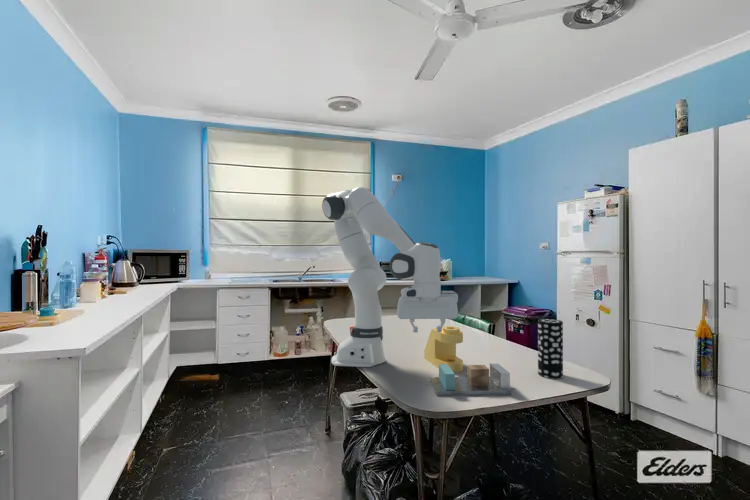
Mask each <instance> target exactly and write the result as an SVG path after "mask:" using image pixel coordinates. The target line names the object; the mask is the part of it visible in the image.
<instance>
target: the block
mask: <svg viewBox="0 0 750 500" xmlns="http://www.w3.org/2000/svg"><path fill="white" fill-rule="evenodd" d="M466 367H467V370H466V375H467V376H466V377H467V381H468V383H469V384H470V385H471V386H489V377H490V368H489V367H487V365H485V364H468V365H466Z"/></svg>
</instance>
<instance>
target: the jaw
mask: <svg viewBox="0 0 750 500" xmlns="http://www.w3.org/2000/svg"><path fill="white" fill-rule="evenodd" d="M438 377H439V380H440V381H441V383H442V385H443V386H444V388H445V390H455V377H456V374H455V373H454V372H453V371H452V370H451V368H450V367H449V366H448V364H440V365H439V369H438Z"/></svg>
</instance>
